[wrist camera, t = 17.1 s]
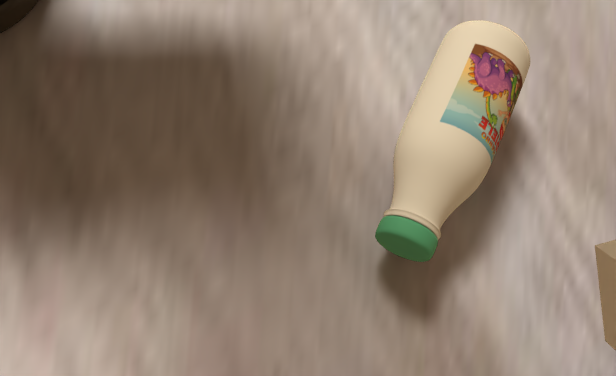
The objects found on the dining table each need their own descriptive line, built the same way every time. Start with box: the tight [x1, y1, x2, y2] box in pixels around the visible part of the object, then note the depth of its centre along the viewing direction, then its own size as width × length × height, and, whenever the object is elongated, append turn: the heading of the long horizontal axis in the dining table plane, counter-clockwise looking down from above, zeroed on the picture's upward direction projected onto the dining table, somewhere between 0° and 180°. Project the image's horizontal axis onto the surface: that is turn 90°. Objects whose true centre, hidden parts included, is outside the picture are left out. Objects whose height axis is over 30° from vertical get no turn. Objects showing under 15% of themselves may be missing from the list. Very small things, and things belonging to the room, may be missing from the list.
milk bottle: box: [375, 20, 530, 262], centre depth 47 cm, size 8×8×20 cm
